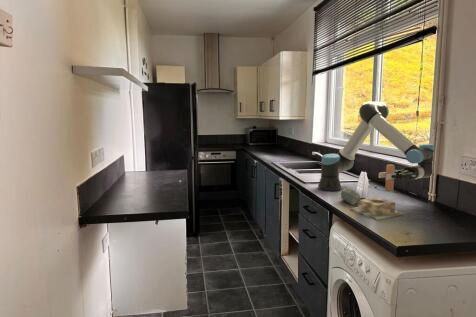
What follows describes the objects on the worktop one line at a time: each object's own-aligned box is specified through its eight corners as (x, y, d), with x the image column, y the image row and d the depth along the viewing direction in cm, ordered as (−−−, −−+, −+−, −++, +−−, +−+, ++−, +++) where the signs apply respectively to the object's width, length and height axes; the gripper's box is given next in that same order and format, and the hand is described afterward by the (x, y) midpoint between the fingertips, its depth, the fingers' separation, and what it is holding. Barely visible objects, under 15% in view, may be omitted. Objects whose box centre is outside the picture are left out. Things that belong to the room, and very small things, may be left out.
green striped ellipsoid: (334, 194, 192) (344, 180, 188) (348, 200, 194) (357, 187, 190) (341, 205, 179) (352, 191, 176) (355, 212, 181) (366, 198, 178)
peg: (383, 190, 175) (384, 164, 173) (388, 189, 177) (390, 164, 175) (389, 191, 172) (391, 166, 170) (394, 190, 173) (396, 165, 171)
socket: (350, 210, 171) (351, 199, 170) (375, 205, 179) (376, 195, 178) (377, 220, 155) (378, 208, 154) (403, 215, 162) (404, 203, 161)
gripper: (426, 182, 173) (396, 186, 164) (399, 176, 189) (369, 180, 179) (427, 168, 172) (396, 172, 163) (400, 163, 187) (370, 166, 178)
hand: (382, 176), depth 171 cm, fingers closed on peg, 4 cm apart
